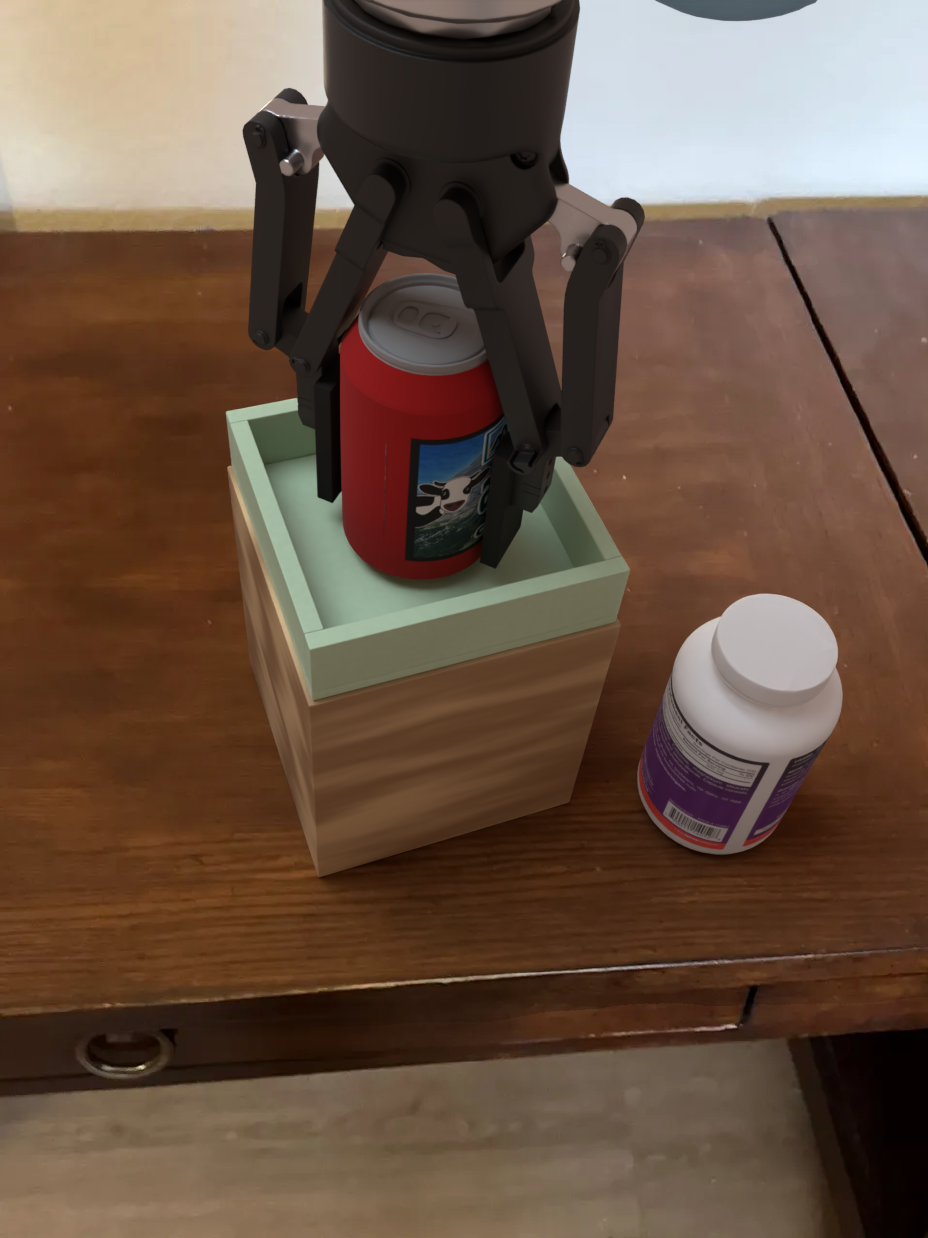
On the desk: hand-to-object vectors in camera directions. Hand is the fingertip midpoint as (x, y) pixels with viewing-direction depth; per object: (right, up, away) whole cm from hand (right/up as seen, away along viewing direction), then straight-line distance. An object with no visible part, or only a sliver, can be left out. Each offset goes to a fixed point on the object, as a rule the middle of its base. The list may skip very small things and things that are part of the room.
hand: (418, 511), depth 53 cm
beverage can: (0, -1, +1) cm, 2 cm away
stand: (-1, -11, +14) cm, 18 cm away
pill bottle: (+15, -14, +13) cm, 25 cm away
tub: (0, -1, +2) cm, 2 cm away
